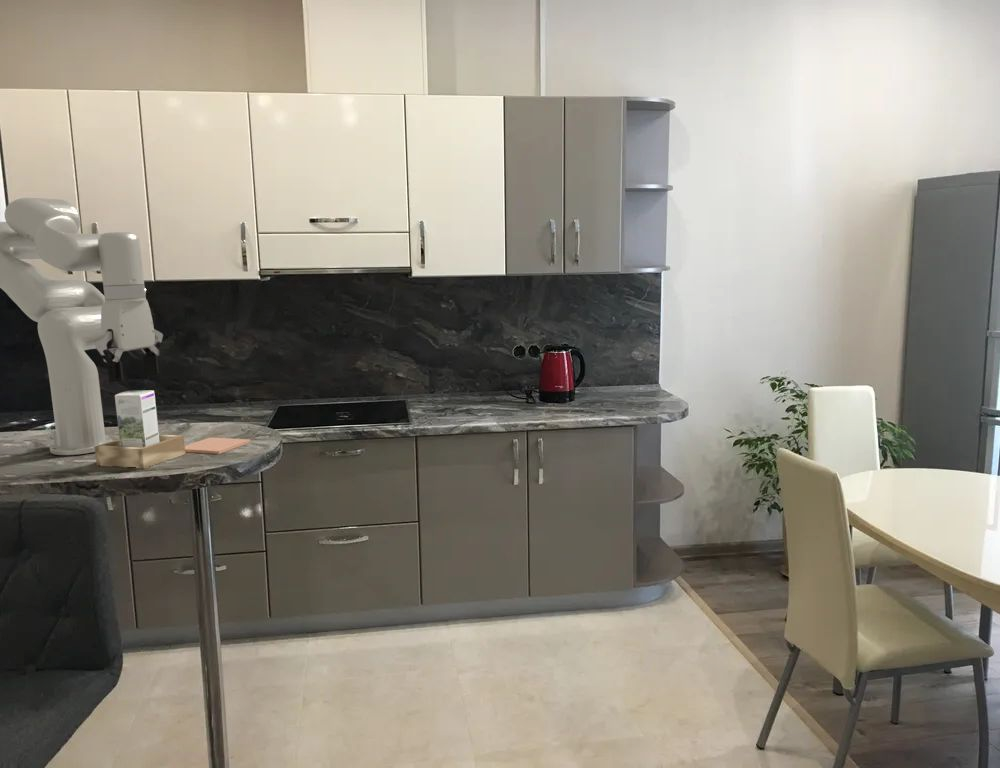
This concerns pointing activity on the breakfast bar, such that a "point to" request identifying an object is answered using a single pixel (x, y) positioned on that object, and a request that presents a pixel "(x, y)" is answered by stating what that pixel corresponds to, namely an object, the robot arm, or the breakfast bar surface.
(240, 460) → the breakfast bar surface
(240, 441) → the terracotta tile
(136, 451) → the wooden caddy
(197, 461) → the breakfast bar surface
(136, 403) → the syrup box
